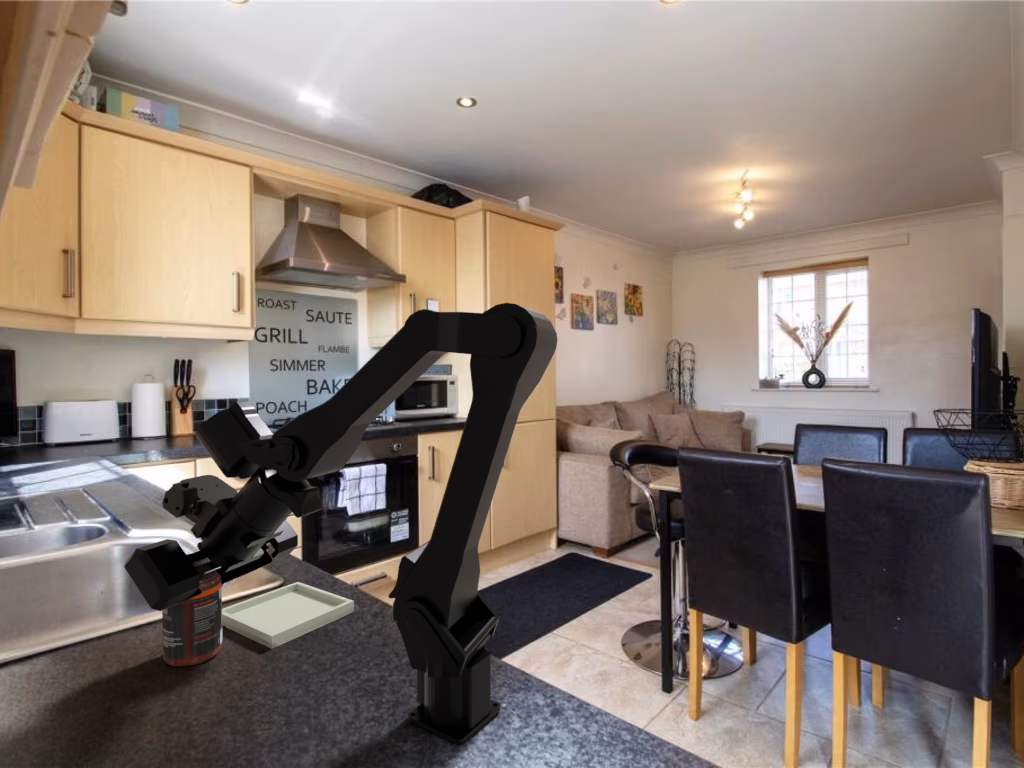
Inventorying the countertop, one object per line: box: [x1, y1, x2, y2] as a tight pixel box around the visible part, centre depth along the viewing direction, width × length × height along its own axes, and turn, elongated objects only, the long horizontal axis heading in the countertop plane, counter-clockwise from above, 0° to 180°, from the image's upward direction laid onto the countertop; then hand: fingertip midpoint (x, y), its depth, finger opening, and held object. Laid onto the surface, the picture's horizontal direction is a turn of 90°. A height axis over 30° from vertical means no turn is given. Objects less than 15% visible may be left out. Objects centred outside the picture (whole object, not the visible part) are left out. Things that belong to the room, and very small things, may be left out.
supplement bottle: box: [161, 552, 223, 667], centre depth 64 cm, size 6×6×11 cm
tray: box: [222, 581, 355, 650], centre depth 74 cm, size 12×12×2 cm
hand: (183, 596), depth 64 cm, fingers closed on supplement bottle, 6 cm apart
